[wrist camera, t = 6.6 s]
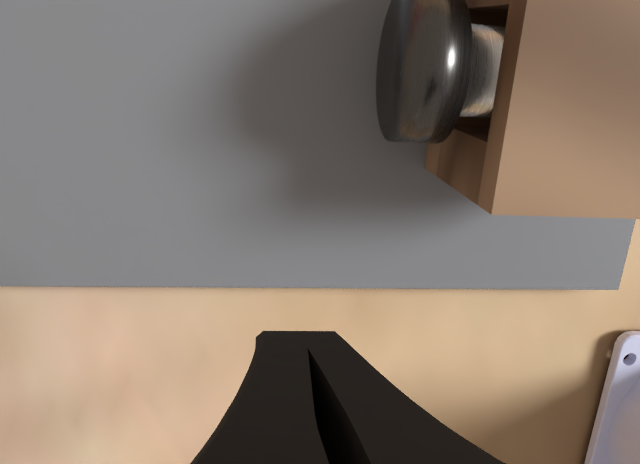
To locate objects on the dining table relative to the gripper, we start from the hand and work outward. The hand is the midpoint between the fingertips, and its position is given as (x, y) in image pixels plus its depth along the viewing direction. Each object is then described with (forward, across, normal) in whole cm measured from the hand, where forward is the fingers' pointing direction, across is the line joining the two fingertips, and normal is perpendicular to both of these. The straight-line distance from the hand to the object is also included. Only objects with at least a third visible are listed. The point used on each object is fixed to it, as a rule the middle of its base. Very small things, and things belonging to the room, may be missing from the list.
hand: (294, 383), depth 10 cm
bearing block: (+8, -7, -5) cm, 12 cm away
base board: (+9, -2, -5) cm, 11 cm away
